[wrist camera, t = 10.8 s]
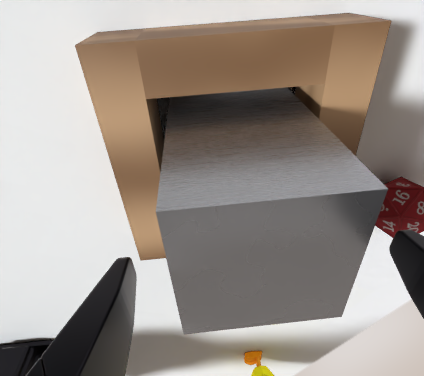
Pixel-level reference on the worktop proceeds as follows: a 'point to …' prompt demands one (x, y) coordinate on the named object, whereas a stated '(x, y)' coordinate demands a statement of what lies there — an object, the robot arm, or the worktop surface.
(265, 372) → the toy figure
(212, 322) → the steel block
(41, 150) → the worktop surface
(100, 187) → the worktop surface
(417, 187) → the dice
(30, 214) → the worktop surface
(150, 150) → the brown wooden square frame
